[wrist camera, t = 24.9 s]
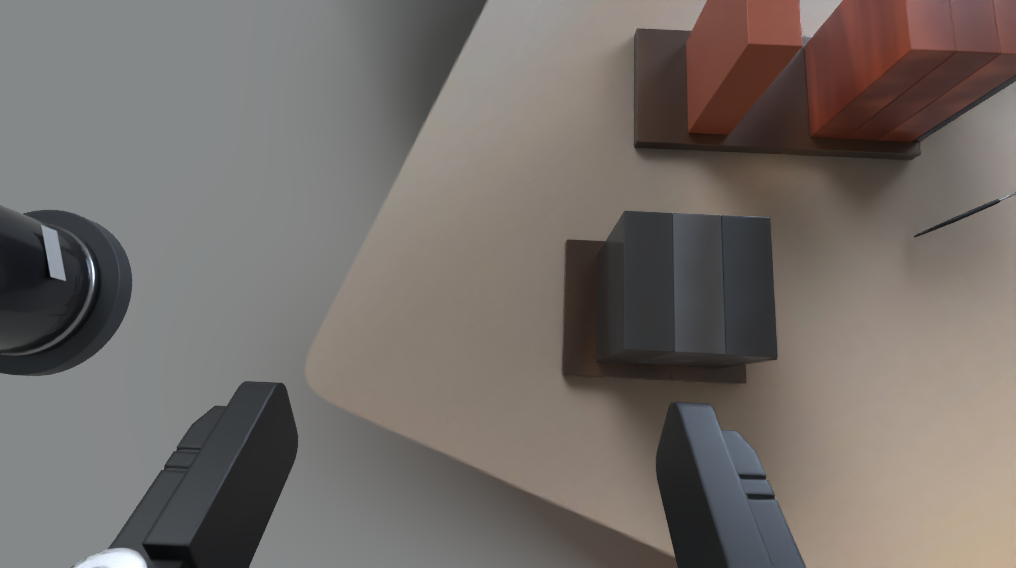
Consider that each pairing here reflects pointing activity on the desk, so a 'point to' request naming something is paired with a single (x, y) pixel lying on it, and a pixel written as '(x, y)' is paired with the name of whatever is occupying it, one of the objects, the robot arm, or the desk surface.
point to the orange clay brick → (737, 58)
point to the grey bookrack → (671, 299)
